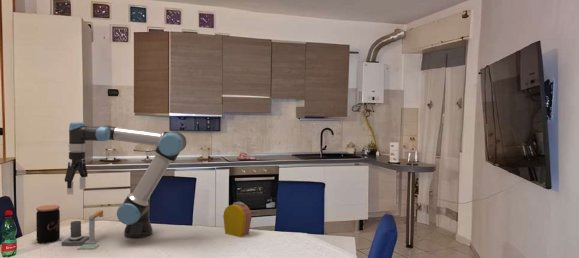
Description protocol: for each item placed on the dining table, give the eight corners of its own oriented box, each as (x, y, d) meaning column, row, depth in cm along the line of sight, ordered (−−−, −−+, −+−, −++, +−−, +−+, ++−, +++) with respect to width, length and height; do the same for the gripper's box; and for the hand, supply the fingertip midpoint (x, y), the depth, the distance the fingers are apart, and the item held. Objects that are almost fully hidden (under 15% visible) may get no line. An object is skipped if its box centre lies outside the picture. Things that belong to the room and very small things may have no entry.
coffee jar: (48, 244, 203) (48, 210, 203) (31, 242, 206) (31, 208, 205) (64, 238, 214) (64, 205, 213) (47, 236, 216) (47, 204, 215)
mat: (99, 245, 204) (99, 244, 204) (94, 249, 198) (94, 248, 198) (83, 245, 203) (83, 244, 203) (78, 249, 197) (78, 248, 197)
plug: (83, 240, 210) (83, 220, 210) (79, 244, 205) (79, 223, 204) (72, 241, 209) (72, 220, 209) (68, 244, 204) (68, 223, 203)
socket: (99, 239, 213) (99, 217, 213) (92, 245, 203) (92, 222, 203) (70, 239, 212) (70, 217, 211) (61, 245, 202) (61, 222, 201)
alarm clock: (251, 234, 228) (252, 203, 227) (242, 237, 221) (243, 205, 220) (232, 229, 236) (232, 199, 235) (223, 233, 229) (223, 202, 228)
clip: (93, 223, 206) (93, 216, 206) (88, 223, 206) (88, 216, 206) (103, 216, 221) (103, 209, 220) (99, 216, 220) (99, 209, 220)
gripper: (80, 149, 218) (80, 187, 219) (57, 153, 193) (56, 196, 194) (94, 149, 219) (94, 187, 220) (72, 154, 194) (72, 196, 195)
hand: (76, 191), depth 207 cm, fingers open, 13 cm apart
